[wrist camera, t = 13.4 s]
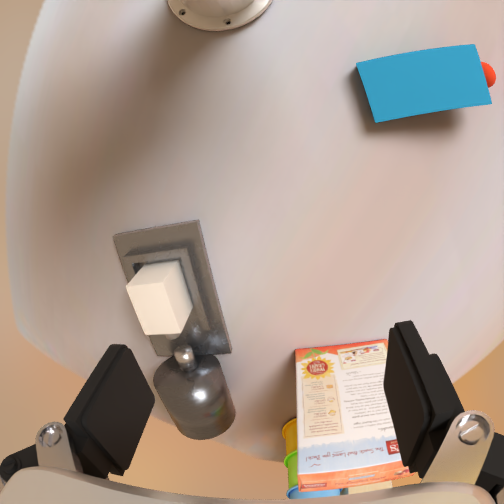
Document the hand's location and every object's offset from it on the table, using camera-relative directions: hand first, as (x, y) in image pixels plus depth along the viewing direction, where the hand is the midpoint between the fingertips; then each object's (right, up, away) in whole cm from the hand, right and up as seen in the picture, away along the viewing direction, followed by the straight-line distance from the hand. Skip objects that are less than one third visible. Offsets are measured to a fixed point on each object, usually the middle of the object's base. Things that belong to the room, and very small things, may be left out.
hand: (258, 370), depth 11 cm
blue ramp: (+21, +24, +19) cm, 37 cm away
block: (-11, 0, +31) cm, 33 cm away
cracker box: (+13, -12, +35) cm, 39 cm away
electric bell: (-10, -6, +34) cm, 36 cm away
